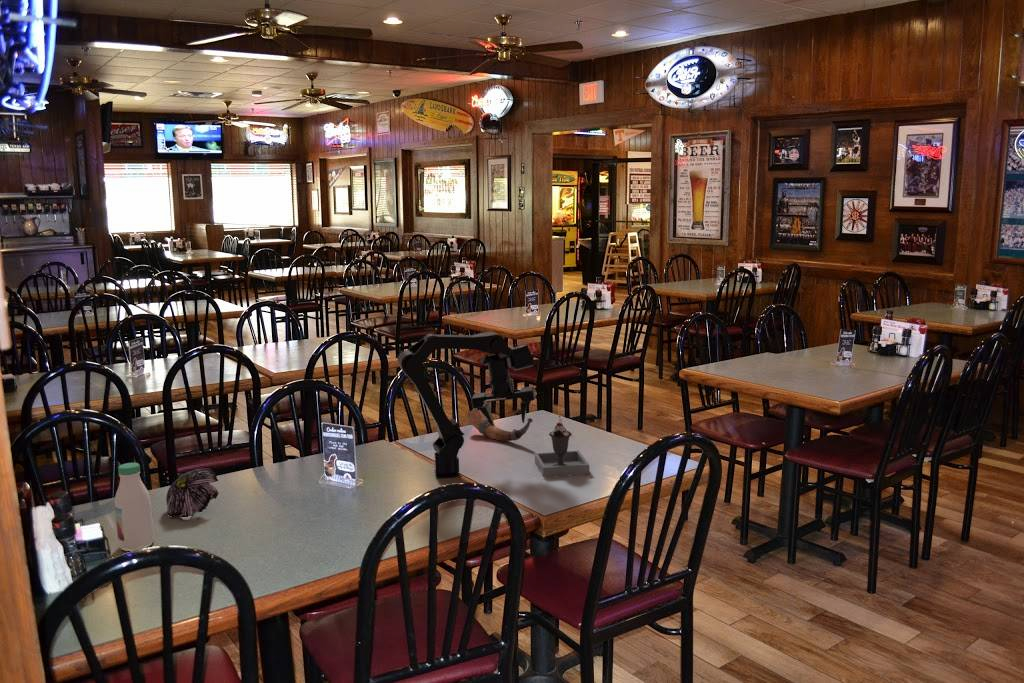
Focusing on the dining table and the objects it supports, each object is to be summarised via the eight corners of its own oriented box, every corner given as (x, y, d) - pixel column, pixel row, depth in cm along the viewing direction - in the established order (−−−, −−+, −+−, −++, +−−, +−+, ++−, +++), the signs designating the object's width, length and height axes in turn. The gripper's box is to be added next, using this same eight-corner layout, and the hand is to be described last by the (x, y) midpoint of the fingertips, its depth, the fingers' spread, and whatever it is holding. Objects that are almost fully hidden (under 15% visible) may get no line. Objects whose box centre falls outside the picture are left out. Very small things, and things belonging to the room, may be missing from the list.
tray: (543, 477, 238) (543, 467, 238) (534, 462, 252) (534, 453, 251) (589, 474, 240) (589, 464, 240) (578, 459, 253) (578, 450, 253)
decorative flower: (146, 477, 216) (201, 450, 223) (159, 509, 222) (213, 482, 230) (166, 506, 206) (223, 477, 214) (179, 539, 212) (234, 510, 220)
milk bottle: (159, 538, 201) (151, 459, 197) (147, 552, 193) (138, 470, 190) (127, 539, 201) (119, 460, 197) (113, 553, 193) (104, 471, 189)
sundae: (561, 461, 250) (561, 413, 248) (576, 467, 245) (576, 418, 242) (544, 466, 247) (544, 417, 244) (558, 471, 241) (558, 421, 239)
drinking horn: (475, 430, 287) (474, 402, 285) (538, 447, 267) (537, 417, 265) (464, 433, 283) (463, 405, 281) (526, 451, 263) (526, 420, 261)
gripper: (533, 362, 249) (541, 411, 253) (473, 370, 252) (482, 419, 256) (529, 373, 239) (538, 424, 242) (466, 381, 241) (476, 431, 245)
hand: (508, 424), depth 246 cm, fingers open, 9 cm apart
